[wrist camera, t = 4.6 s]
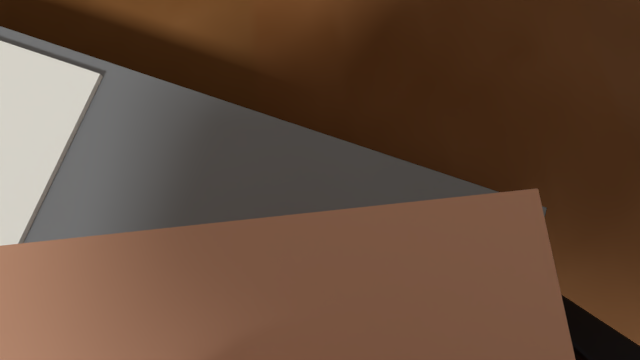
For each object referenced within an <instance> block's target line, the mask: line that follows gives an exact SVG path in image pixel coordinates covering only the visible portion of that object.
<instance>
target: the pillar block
mask: <svg viewBox="0 0 640 360" xmlns="http://www.w3.org/2000/svg"><path fill="white" fill-rule="evenodd" d="M0 360H576V359H575V355H574V350H573V346H572V341H571V336H570V332H569V327H568V323H567V318H566V314H565V309H564V304H563V300H562V295H561V291H560V286H559V282H558V277H557V272H556V268H555V263H554V259H553V254H552V250H551V245H550V241H549V236H548V231H547V227H546V222H545V218H544V213H543V209H542V204H541V199H540V195H539V190H538V188H537V189H527V190H518V191H508V192H499V193H490V194H480V195H471V196H462V197H452V198H443V199H433V200H424V201H415V202H405V203H396V204H387V205H377V206H368V207H358V208H349V209H340V210H330V211H321V212H312V213H302V214H293V215H283V216H274V217H265V218H255V219H246V220H237V221H227V222H218V223H208V224H199V225H190V226H180V227H171V228H162V229H152V230H143V231H133V232H124V233H115V234H105V235H96V236H87V237H77V238H68V239H58V240H49V241H40V242H30V243H21V244H12V245H2V246H0Z"/></svg>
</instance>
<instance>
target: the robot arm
mask: <svg viewBox="0 0 640 360" xmlns="http://www.w3.org/2000/svg"><path fill="white" fill-rule="evenodd" d="M562 300H563V304H564V309H565V314H566V318H567V323H568V327H569V332H570V336H571V341H572V346H573V350H574V355H575V359H576V360H640V346H639V345H637V344H636V343H634V342H633V341H631V340H630V339H628V338H627V337H625V336H624V335H622V334H621V333H619V332H618V331H616V330H614V329H613V328H611V327H610V326H608V325H607V324H605V323H604V322H602V321H601V320H599V319H598V318H596V317H595V316H593V315H592V314H590V313H589V312H587V311H585V310H584V309H582V308H581V307H579V306H578V305H576V304H575V303H573V302H572V301H570V300H569V299H567V298H566V297H564V296H563V295H562Z"/></svg>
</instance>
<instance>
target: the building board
mask: <svg viewBox="0 0 640 360" xmlns="http://www.w3.org/2000/svg"><path fill="white" fill-rule="evenodd" d="M490 193H499V192H497V191H494V190H491V189H488V188H485V187H482V186H479V185H476V184H473V183H470V182H467V181H464V180H461V179H458V178H455V177H452V176H449V175H446V174H443V173H440V172H437V171H434V170H431V169H428V168H425V167H422V166H419V165H416V164H413V163H410V162H407V161H404V160H401V159H398V158H395V157H392V156H389V155H386V154H383V153H380V152H377V151H374V150H371V149H368V148H365V147H362V146H359V145H356V144H353V143H350V142H347V141H344V140H341V139H338V138H335V137H332V136H329V135H326V134H323V133H320V132H317V131H314V130H311V129H308V128H305V127H302V126H299V125H296V124H293V123H290V122H287V121H284V120H281V119H278V118H275V117H272V116H269V115H266V114H263V113H260V112H257V111H254V110H251V109H248V108H245V107H242V106H239V105H236V104H233V103H230V102H227V101H224V100H221V99H218V98H215V97H212V96H209V95H206V94H203V93H200V92H197V91H194V90H191V89H188V88H185V87H182V86H179V85H176V84H173V83H170V82H167V81H164V80H161V79H158V78H155V77H152V76H149V75H146V74H143V73H140V72H137V71H134V70H131V69H128V68H125V67H121V66H118V65H115V64H112V63H109V62H106V61H103V60H100V59H97V58H94V57H91V56H88V55H85V54H82V53H79V52H76V51H73V50H70V49H67V48H64V47H61V46H58V45H55V44H52V43H49V42H46V41H43V40H40V39H37V38H34V37H31V36H28V35H25V34H22V33H19V32H16V31H13V30H10V29H7V28H4V27H1V26H0V246H2V245H12V244H21V243H30V242H40V241H49V240H58V239H68V238H77V237H87V236H96V235H105V234H115V233H124V232H133V231H143V230H152V229H162V228H171V227H180V226H190V225H199V224H208V223H218V222H227V221H237V220H246V219H255V218H265V217H274V216H283V215H293V214H302V213H312V212H321V211H330V210H340V209H349V208H358V207H368V206H377V205H387V204H396V203H405V202H415V201H424V200H433V199H443V198H452V197H462V196H471V195H480V194H490ZM542 209H543V213H544V218H545V214H546V209H547V208H546V207H543V206H542Z"/></svg>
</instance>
